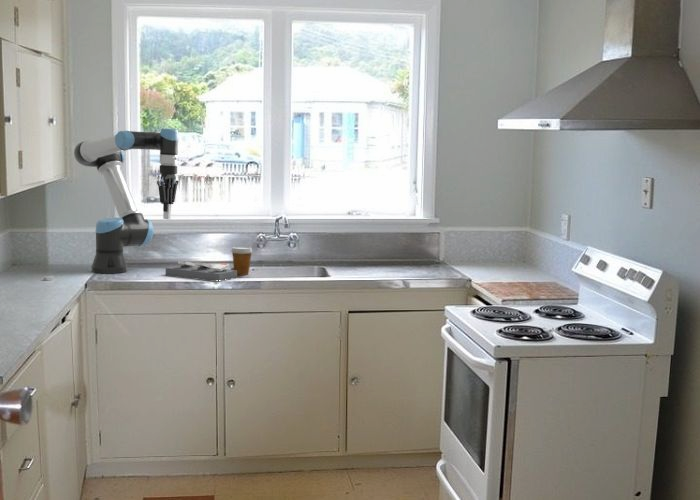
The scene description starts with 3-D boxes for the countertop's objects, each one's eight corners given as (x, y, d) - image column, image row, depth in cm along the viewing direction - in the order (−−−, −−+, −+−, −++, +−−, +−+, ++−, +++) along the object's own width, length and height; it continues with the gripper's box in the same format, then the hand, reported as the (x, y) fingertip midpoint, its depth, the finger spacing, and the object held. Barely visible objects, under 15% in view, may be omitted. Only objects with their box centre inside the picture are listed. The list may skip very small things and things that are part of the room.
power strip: (165, 275, 371) (165, 266, 370) (184, 271, 383) (184, 263, 383) (219, 281, 359) (219, 272, 359) (237, 277, 372) (237, 269, 371)
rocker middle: (194, 264, 370) (195, 261, 370) (203, 267, 376) (203, 264, 376) (203, 265, 368) (203, 262, 368) (211, 268, 374) (212, 265, 374)
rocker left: (177, 263, 373) (178, 260, 373) (186, 265, 380) (187, 262, 380) (185, 264, 372) (186, 261, 372) (194, 265, 378) (195, 262, 378)
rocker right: (212, 270, 366) (211, 267, 366) (220, 265, 372) (220, 262, 372) (220, 271, 364) (220, 268, 364) (229, 266, 370) (229, 263, 370)
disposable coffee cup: (248, 276, 377) (248, 249, 375) (227, 274, 379) (228, 248, 377) (254, 273, 386) (255, 247, 385) (234, 272, 388) (235, 246, 386)
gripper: (166, 165, 358) (165, 220, 361) (184, 165, 370) (182, 218, 373) (152, 164, 361) (150, 219, 364) (170, 164, 372) (168, 217, 376)
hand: (166, 218), depth 368 cm, fingers closed
